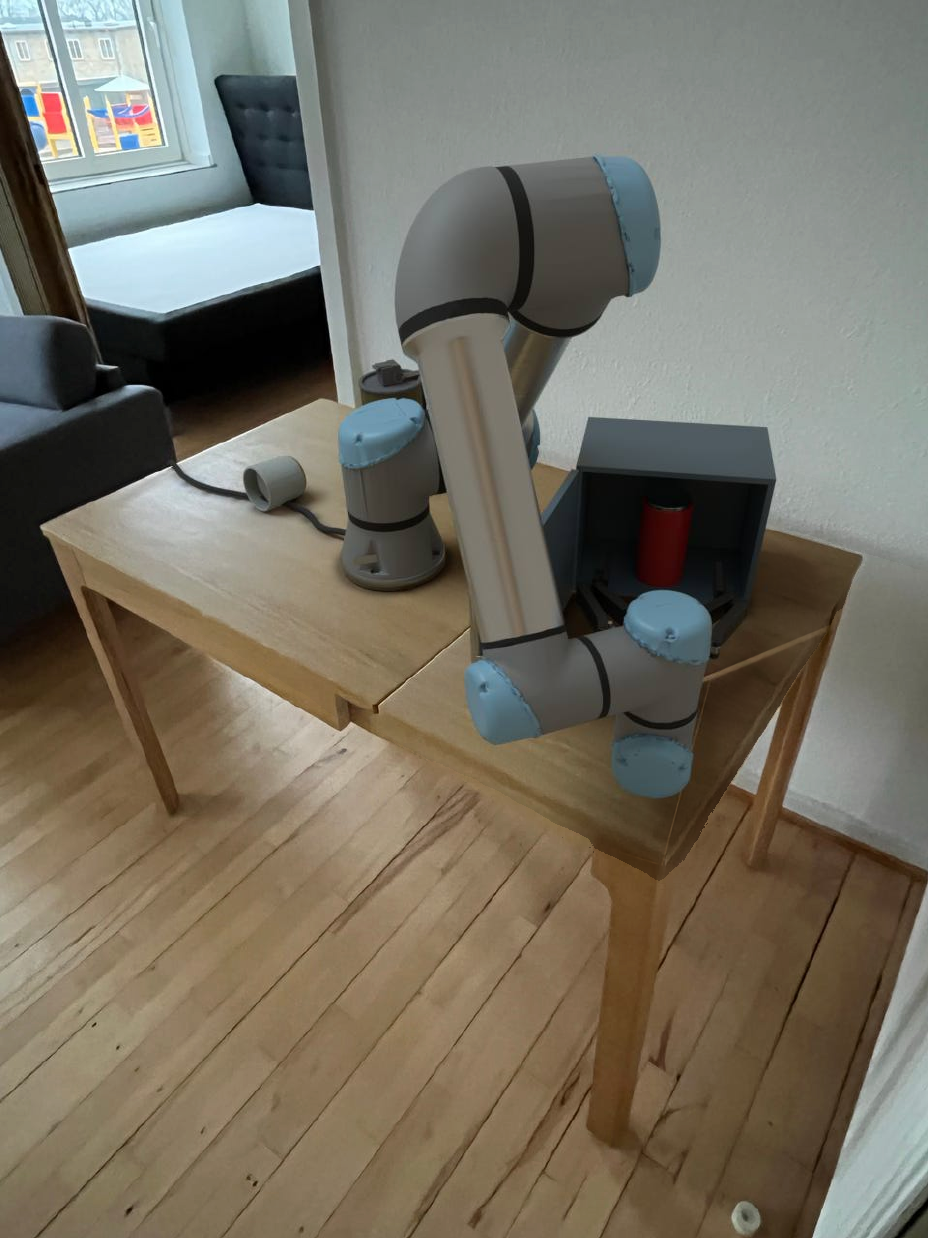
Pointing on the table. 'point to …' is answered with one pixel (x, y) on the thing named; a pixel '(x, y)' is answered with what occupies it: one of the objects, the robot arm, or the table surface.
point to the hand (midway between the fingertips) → (662, 565)
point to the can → (663, 536)
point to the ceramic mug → (274, 482)
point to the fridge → (683, 458)
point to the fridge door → (560, 545)
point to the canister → (391, 384)
